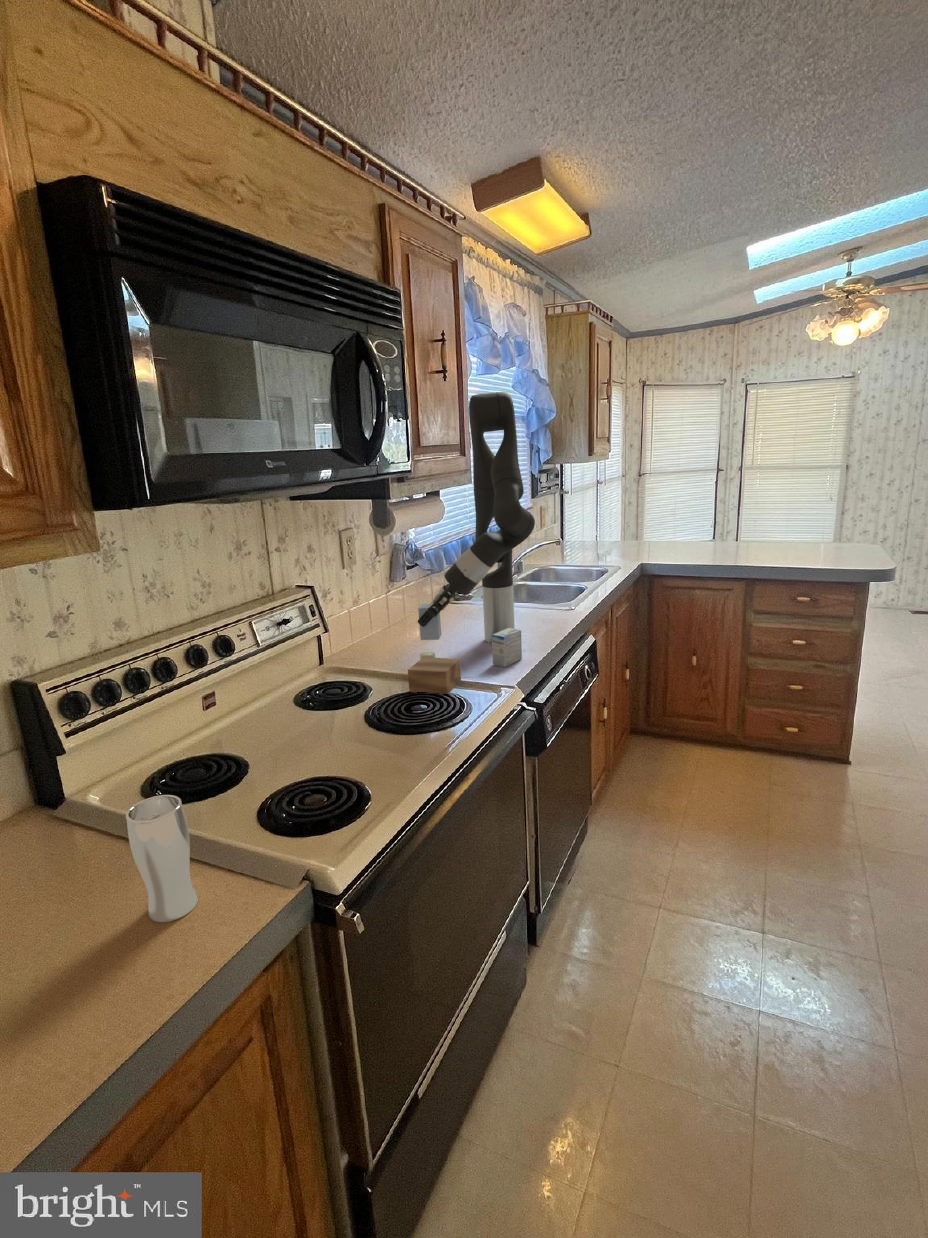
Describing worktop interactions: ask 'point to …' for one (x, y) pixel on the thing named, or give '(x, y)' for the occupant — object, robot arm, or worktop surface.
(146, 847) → the beer glass
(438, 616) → the slate-blue block
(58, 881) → the worktop surface
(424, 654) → the pale small block
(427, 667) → the walnut block
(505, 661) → the medicine box
